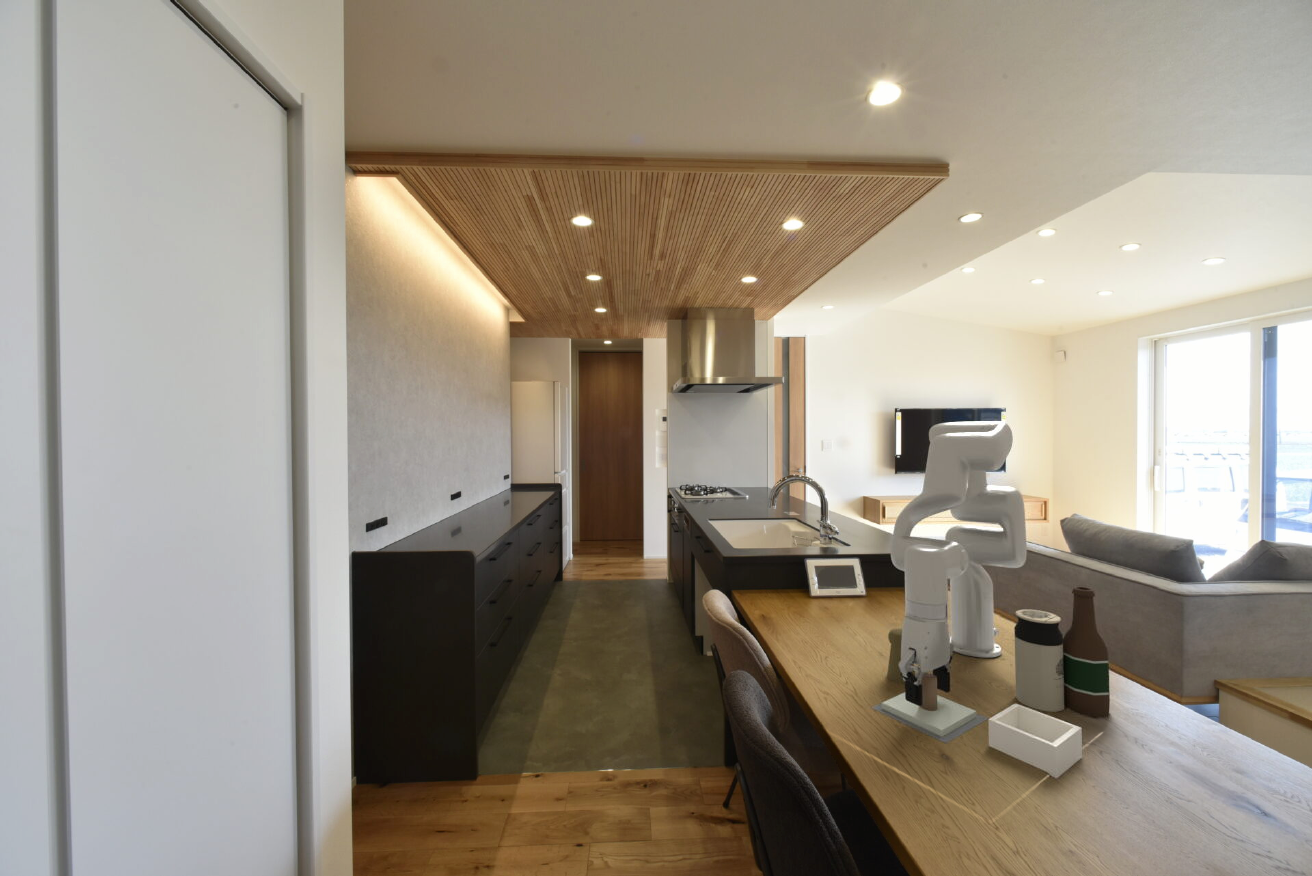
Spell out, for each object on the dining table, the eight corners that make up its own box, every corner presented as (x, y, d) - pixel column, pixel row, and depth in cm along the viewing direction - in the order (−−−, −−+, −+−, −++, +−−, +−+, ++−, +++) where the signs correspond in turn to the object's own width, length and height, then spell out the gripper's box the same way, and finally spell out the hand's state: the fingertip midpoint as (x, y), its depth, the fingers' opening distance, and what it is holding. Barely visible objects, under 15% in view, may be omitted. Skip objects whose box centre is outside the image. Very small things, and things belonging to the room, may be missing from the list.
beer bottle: (1100, 702, 106) (1097, 584, 107) (1120, 721, 99) (1117, 595, 99) (1054, 696, 109) (1052, 581, 109) (1070, 715, 101) (1068, 592, 102)
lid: (916, 692, 111) (916, 658, 111) (976, 717, 101) (975, 679, 101) (882, 708, 104) (881, 672, 104) (942, 736, 94) (941, 696, 94)
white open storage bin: (1015, 730, 97) (1015, 703, 97) (1082, 757, 88) (1081, 727, 88) (988, 747, 91) (988, 719, 91) (1056, 778, 83) (1055, 746, 83)
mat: (914, 689, 113) (914, 687, 113) (988, 720, 100) (988, 718, 100) (871, 709, 105) (870, 707, 105) (946, 745, 92) (945, 743, 92)
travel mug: (1007, 698, 108) (1005, 612, 109) (1031, 690, 112) (1029, 606, 112) (1048, 716, 101) (1046, 623, 101) (1073, 708, 104) (1071, 618, 104)
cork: (919, 686, 114) (918, 636, 114) (890, 684, 116) (889, 634, 116) (912, 674, 120) (911, 626, 120) (884, 672, 121) (883, 625, 122)
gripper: (932, 596, 110) (933, 678, 110) (882, 611, 101) (884, 700, 101) (969, 605, 104) (970, 692, 104) (919, 622, 95) (921, 717, 95)
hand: (928, 696), depth 102 cm, fingers open, 9 cm apart
